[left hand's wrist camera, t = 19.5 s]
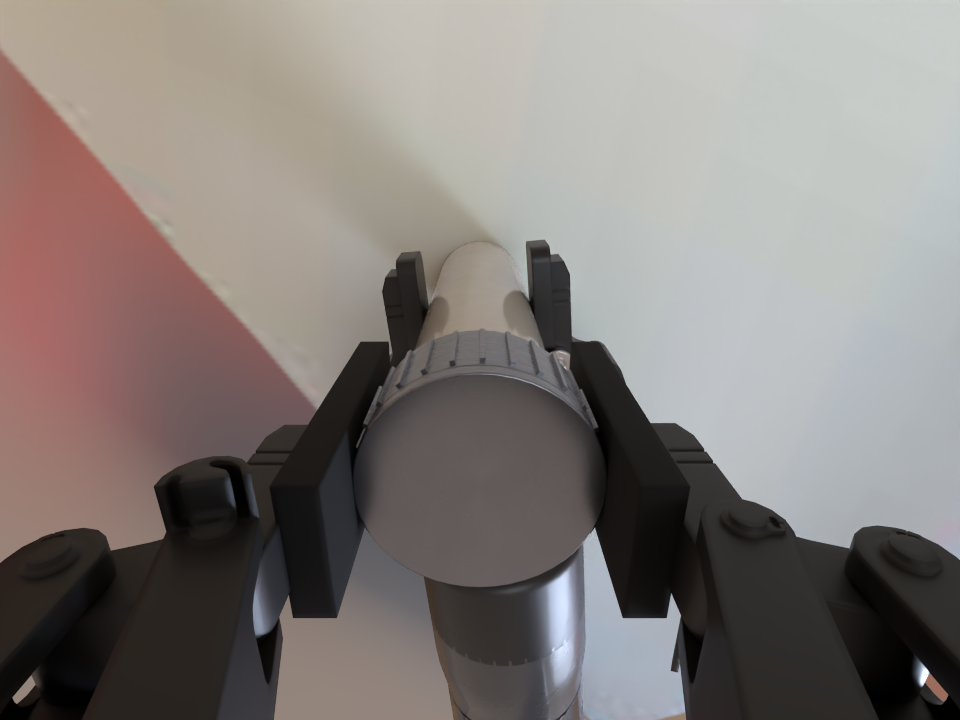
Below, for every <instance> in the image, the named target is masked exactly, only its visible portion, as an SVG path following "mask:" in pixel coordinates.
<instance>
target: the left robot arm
mask: <svg viewBox="0 0 960 720" xmlns="http://www.w3.org/2000/svg"><path fill="white" fill-rule="evenodd" d="M569 369H570V370H571V371H572V373H573V375H574V378H575V380H576V382H577V385H578V387H579V390H580V389H582V390H583V392H584V395H585V397H586V399H587V402H588V404H589V406H590V409H591V411H592V413H593V415H594V418H595V420H596V422H597V425H598V427H599V429H600V431H599V432H596V433H597V435H598V438H599V440H600V443H601V445H602V448H603V451H604V455H605V458H606V463H607V471H608V479H607V489H606V498H605V504H604V507H603V510H602V513H601V516H600V518H599V520H598V522H597V524H596V525H595V529H596V532H597V535H598V539H599V542H600V545H601V548H602V552H603V555H604V558H605V561H606V565H607V568H608V571H609V574H610V578H611V581H612V584H613V587H614V591H615V594H616V597H617V600H618V604H619V607H620V610H621V613H622V617H623V618H667V613H668V607H669V602H670V596H671V593H672V595H673V598H674V600H675V602H676V605H677V607H678V609H679V612H680V614H681V619H680V624H679V629H678V634H677V639H676V644H675V649H674V654H673V660H672V666H671V671H674V672H678V669H679V664H680V667H681V676H682V684H683V693H684V702H685V711H686V720H960V560H959V559H958V558H957V557H955V556H954V555H952V554H951V553H950V552H948V551H947V550H945V549H944V548H942V547H941V546H940V545H938V544H936V543H934V542H932V541H930V540H928V539H925V538H923V537H922V536H920V535H918V534H915V533H912V532H910V531H908V532H907V531H906V530H902V529H898V528H892V527H884V526H870V527H863V528H861V529H860V530H859V531H858V532H856V533H855V534H854V537H853V540H852V543H851V546H850V549H849V548H844V547H839V546H835V545H830V544H825V543H820V542H815V541H811V540H806V539H803V538H799V537H796V535H795V533H794V531H793V530H792V528H791V527H790V526H789V524H788V523H787V522H786V520H785V519H783V518H782V517H780V516H779V515H778V514H776V513H775V512H774V511H772V510H770V509H768V508H766V507H764V506H762V505H759V504H757V503H755V502H751V501H747V500H743V499H742V498H741V497H740V496H739V494H738V493H737V492H736V490H735V489H734V488H733V486H732V485H731V484H730V483H729V481H728V480H727V479H726V477H725V476H724V475H723V473H722V472H721V471H720V469H719V468H718V467H717V465H716V464H713V460H712V459H711V457H710V456H709V455H708V453H707V452H704V448H703V447H702V446H701V444H700V443H699V442H698V440H697V439H696V438H695V436H694V435H693V434H691V433H689V432H688V431H686V430H685V429H683V428H682V427H680V426H679V425H677V424H676V423H650V422H649V420H648V419H647V417H646V415H645V414H644V412H643V411H642V409H641V407H640V406H639V404H638V403H637V401H636V400H635V398H634V396H633V395H632V393H631V392H630V390H629V388H628V387H627V385H626V384H625V382H624V381H623V379H622V377H621V376H620V374H619V373H618V371H617V369H616V368H615V366H614V365H613V363H612V362H611V360H610V358H609V357H608V355H607V354H606V352H605V350H604V349H603V347H602V346H601V344H600V343H599V342H571V351H570V365H569ZM389 371H390V356H389V342H360V344H359V345H358V347H357V348H356V350H355V352H354V353H353V355H352V356H351V358H350V359H349V361H348V363H347V364H346V366H345V367H344V369H343V371H342V372H341V374H340V375H339V377H338V378H337V380H336V382H335V383H334V385H333V386H332V388H331V390H330V391H329V393H328V394H327V396H326V397H325V399H324V401H323V402H322V404H321V405H320V407H319V409H318V410H317V412H316V413H315V415H314V417H313V418H312V420H311V421H310V423H309V424H308V425H284V426H282V427H281V428H279V429H278V430H276V431H275V432H273V433H272V434H270V435H268V436H267V437H266V438H265V439H264V441H263V442H262V443H261V445H260V446H259V447H258V449H257V450H256V454H253V455H252V457H251V458H250V459H249V461H248V462H247V463H246V462H245V461H244V460H242V459H240V458H235V457H231V456H213V457H208V458H203V459H199V460H194V461H192V462H189V463H187V464H184V465H182V466H179V467H177V468H175V469H174V470H172V471H170V472H169V473H167V474H166V475H164V476H163V477H162V478H161V479H160V480H159V481H158V482H157V483H156V485H155V486H154V489H155V493H156V496H157V500H158V503H159V507H160V510H161V514H162V518H163V521H164V525H165V528H166V534H165V536H164V539H162V540H158V541H154V542H151V543H146V544H141V545H136V546H132V547H127V548H122V549H117V550H113V551H111V550H110V547H109V544H108V541H107V538H106V536H105V535H104V534H102V533H101V532H100V531H99V530H95V529H88V528H79V529H71V530H64V531H60V532H56V533H54V534H49V535H46V536H44V537H41V538H39V539H38V540H36V541H34V542H32V543H30V544H28V545H26V546H23V547H22V548H20V549H19V550H17V551H16V552H15V553H13V554H12V555H10V556H9V557H7V558H6V559H5V560H3V561H2V562H1V563H0V720H274V713H275V704H276V695H277V686H278V677H279V668H280V659H281V650H282V641H283V637H282V630H281V624H280V619H279V616H280V613H281V611H282V609H283V607H284V604H285V602H286V600H287V597H288V595H289V598H290V603H291V609H292V614H293V618H337V616H338V612H339V609H340V606H341V603H342V599H343V596H344V593H345V590H346V586H347V583H348V580H349V577H350V573H351V570H352V567H353V564H354V560H355V557H356V554H357V551H358V547H359V544H360V541H361V538H362V534H363V531H364V528H365V526H364V524H363V522H362V520H361V518H360V516H359V513H358V510H357V507H356V504H355V500H354V492H353V482H352V470H353V462H354V458H355V454H356V445H357V443H358V441H359V438H360V436H361V434H362V431H363V429H364V428H362V425H363V422H364V420H365V418H366V415H367V413H368V411H369V408H370V406H371V404H372V401H373V399H374V397H375V395H376V392H377V390H378V388H379V386H382V387H383V385H384V383H385V380H386V378H387V375H388V373H389ZM929 672H930V674H931V675H932V676H933V677H934V678H935V679H936V681H937V682H938V683H939V684H940V685H941V686H942V688H943V689H944V690H945V691H946V692H947V693H948V697H947V699H946V701H945V702H943V701H941V700H940V699H939V698H938V697H937V696H936V695H935V694H934V693H933V692H932V691H931V690H930V688H929V687H928V686H927V685H926V684H925V680H926V678H927V676H928V674H929ZM31 675H32V677H33V679H34V681H35V684H36V685H35V686H34V687H33V689H32V690H31V691H30V692H29V694H28V695H27V696H26V697H25V698H23V699H22V700H21V701H20V702H19V703H18V704H16V703H15V702H14V700H13V698H12V697H13V696H14V695H15V694H16V692H17V691H18V690H19V689H20V688H21V686H22V685H23V684H24V683H25V682H26V681H27V679H28V678H29V677H30V676H31Z"/></svg>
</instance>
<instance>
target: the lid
mask: <svg viewBox="0 0 960 720" xmlns="http://www.w3.org/2000/svg"><path fill="white" fill-rule="evenodd" d="M362 428H364V429H363V431H362V434H361V436H360V438H359V441H358V443H357V445H356V454H355V458H354V462H353V470H352V482H353V492H354V500H355V504H356V507H357V510H358V513H359V516H360V518H361V520H362V522H363V524H364V526H365V528H366V529H367V531H368V532H369V534H370V535H371V536H372V538H373V539H374V541H375V542H376V543H377V544H378V545H379V546H380V547H381V548H382V549H383V550H384V551H385V552H386V553H387V554H388V555H390V556H391V557H392V558H393V559H394V560H396V561H397V562H399V563H400V564H402V565H403V566H405V567H406V568H408V569H410V570H412V571H414V572H416V573H418V574H420V575H422V576H425V577H427V578H430V579H433V580H436V581H440V582H443V583H447V584H452V585H459V586H467V587H493V586H501V585H508V584H513V583H516V582H520V581H524V580H527V579H530V578H532V577H535V576H538V575H540V574H542V573H544V572H546V571H548V570H550V569H552V568H554V567H555V566H557V565H558V564H560V563H561V562H563V561H564V560H566V559H567V558H568V557H569V556H570V555H572V554H573V553H574V552H575V551H576V550H577V549H578V548H579V547H580V546H581V545H582V544H583V543H584V542H585V540H586V539H587V538H588V536H589V535H590V533H591V532H592V531H593V529H594V527H595V525H596V524H597V522H598V520H599V518H600V516H601V513H602V510H603V507H604V504H605V498H606V489H607V479H608V471H607V463H606V458H605V455H604V451H603V448H602V445H601V443H600V440H599V438H598V435H597V433H596V432H599V431H600V429H599V427H598V425H597V422H596V420H595V418H594V415H593V413H592V411H591V409H590V406H589V404H588V402H587V399H586V397H585V395H584V392H583V390H582V389H580V390H579V387H578V385H577V382H576V380H575V378H574V375H573V373H572V371H571V370H570V369H569V370H568V371H567V370H566V369H565V368H564V367H563V366H562V364H561V363H560V362H559V361H558V359H557V357H556V355H555V354H554V353H553V352H552V353H551V354H550V353H548V352H547V351H545V350H544V349H542V348H541V347H539V346H538V345H536V343H535V341H534V340H532V339H531V340H530V341H528V340H526V339H523V338H520V337H517V336H514V335H511V332H509V331H506V333H502V332H497V331H485V328H480V330H476V331H463V332H458V330H456V331H453V334H449V335H446V336H443V337H439V338H436V339H434V338H430V339H429V340H428V343H426V344H424V345H422V346H421V347H419V348H418V349H416V350H414V351H413V352H412V351H411V350H410V351H408V352H407V354H406V357H405V358H404V359H403V360H402V361H401V362H400V363H399V364H398V365H397V367H396V368H394V367H393V366H392V367H391V369H390V371H389V373H388V375H387V378H386V380H385V383H384V385H383V387H382V386H379V388H378V390H377V392H376V395H375V397H374V399H373V401H372V404H371V406H370V408H369V411H368V413H367V415H366V418H365V420H364V422H363V425H362Z"/></svg>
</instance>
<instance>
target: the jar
mask: <svg viewBox="0 0 960 720" xmlns="http://www.w3.org/2000/svg"><path fill="white" fill-rule="evenodd" d="M480 328H485V331H497V332H502V333H506V331H509V332H511V335H514V336H517V337H520V338H523V339H526V340H528V341H530V340H531V339H532V340H534V341H535V343H536V345H538V346H539V347H541V348H542V349H544V350H545V348H544V345H543V342H542V339H541V336H540V333H539V330H538V327H537V324H536V321H535V318H534V315H533V312H532V309H531V306H530V303H529V300H528V297H527V294H526V291H525V288H524V285H523V282H522V279H521V276H520V273H519V270H518V267H517V265H516V263H515V261H514V259H513V258H512V257H511V256H510V254H509V253H508V252H506V251H505V250H504V249H502V248H501V247H499V246H497V245H495V244H492V243H488V242H472V243H468V244H465V245H463V246H461V247H459V248H457V249H456V250H454V251H453V252H452V253H451V254H450V255H449V256H448V258H447V259H446V261H445V262H444V264H443V266H442V269H441V272H440V275H439V278H438V281H437V284H436V287H435V290H434V293H433V296H432V299H431V302H430V305H429V308H428V311H427V314H426V317H425V320H424V323H423V326H422V329H421V332H420V335H419V338H418V342H417V345H416V348H415V350H416V349H418V348H419V347H421V346H422V345H424V344H426V343H428V340H429V339H430V338H434V339H436V338H439V337H443V336H446V335H449V334H453V331H456V330H458V332H463V331H476V330H480Z"/></svg>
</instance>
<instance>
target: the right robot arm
mask: <svg viewBox="0 0 960 720" xmlns="http://www.w3.org/2000/svg"><path fill="white" fill-rule="evenodd" d="M526 255H527V272H528V289H529V303H530V306H531V309H532V312H533V315H534V318H535V321H536V324H537V327H538V330H539V333H540V336H541V339H542V342H543V345H544V348H545V351H547V352H548V353H550V354H551V353H552V352H553V353H554V354H555V355H556V357H557V359H558V361H559V362H560V363H561V364H562V366H563V367H564V368H565V369H566V370H567V371H568V370H569V365H570V351H571V342H585V341H581V340H577V339H575V338H573V337H572V335H571V302H570V274H569V272H568V269H567V267H566V265H565V263H564V261H563V260H562V258H561V257H560V256H559V254H554V255H551V254H550V248H549V245H548V244H547V242H546V241H545V240H536V241H526ZM382 293H383V299H384V305H385V311H386V316H387V322H388V328H389V334H390V340H391V346H392V353H393V354H391V355H390V369H391V367H392V366H393V367H394V368H396V367H397V365H398V364H399V363H400V362H401V361H402V360H403V359H404V358H405V357H406V354H407V352H408V351H410V350H411V351H412V352H413V351H414V350H415V348H416V345H417V342H418V338H419V335H420V332H421V329H422V326H423V323H424V320H425V317H426V314H427V311H428V308H429V305H428V298H427V290H426V283H425V276H424V269H423V261H422V256H421V252H420V251H417V252H406V253H401V255H400V256H399V257H398V258H397V260H396V269H392V270H391V271H390V272H389V274H388V275H387V276H386V277H385V282H384V286H383V290H382ZM590 342H599V341H590ZM599 343H600V344H601V346H602V347H603V349H604V350H605V352H606V354H607V355H608V357H609V358H610V360H611V362H612V363H613V365H614V366H615V368H616V369H617V371H618V373H619V374H620V376H621V377H622V379H623V381H624V382H625V380H624V377H623V374H622V372H621V369H620V368H619V366H618V365H617V363H616V362H615V360H614V359H613V357H612V356H611V354H610V352H609V351H608V349H607V348H606V346H605V345H604V344H603V343H601V342H599ZM625 384H626V383H625ZM424 580H425V585H426V591H427V597H428V602H429V608H430V614H431V619H432V625H433V631H434V637H435V642H436V648H437V652H438V656H439V660H440V664H441V667H442V669H443V672H444V674H445V677H446V679H447V682H448V686H449V693H450V699H451V705H452V711H453V717H454V720H585V717H584V714H583V711H582V673H581V669H582V663H583V658H584V650H585V596H584V558H583V544H582V545H581V546H580V547H579V548H578V549H577V550H576V551H575V552H574V553H573V554H572V555H570V556H569V557H568V558H567V559H566V560H564V561H563V562H561V563H560V564H558V565H557V566H555V567H554V568H552V569H550V570H548V571H546V572H544V573H542V574H540V575H538V576H535V577H532V578H530V579H527V580H524V581H520V582H516V583H513V584H508V585H501V586H493V587H467V586H459V585H452V584H447V583H443V582H440V581H436V580H433V579H430V578H427V577H425V576H424Z"/></svg>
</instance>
